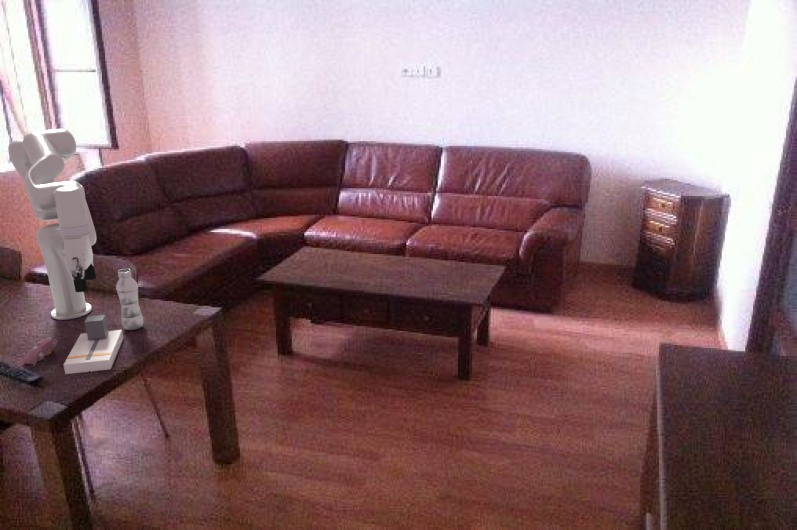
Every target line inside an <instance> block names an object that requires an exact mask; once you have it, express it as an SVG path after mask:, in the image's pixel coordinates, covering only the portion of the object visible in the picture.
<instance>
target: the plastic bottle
mask: <svg viewBox="0 0 797 530" xmlns="http://www.w3.org/2000/svg"><path fill="white" fill-rule="evenodd" d="M117 273H118V275H117V277H118V278H119V279H118V281H117V283H116V285H115V290H116V293H117V295H118V298H119V303H120V307H121V308H120V309H121V324H122V328H124V329H125V330H126V331H135V330H138V329H141V328H142V327H143V324H144V317H143V315H142V311H141V307H140V304H139V285H138V282H137V281H136V280H135V279H134V278H133V277H132V271H131V269H130V268H122V269H119V270H118V271H117Z"/></svg>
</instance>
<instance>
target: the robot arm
mask: <svg viewBox="0 0 797 530" xmlns="http://www.w3.org/2000/svg"><path fill="white" fill-rule="evenodd" d="M7 151H8V155H9V159H10V161H11V163H12V165H13V167H14V169H15V171H17V173H18V174H19V176H20V177H21V178H22V179H21V180H23V182H24V184H23V185H24V190H25V193H26V195H27V197H28V200H29V201H30V204H31V206H32V210H33V213H34V215H35V217H36V218H37V219H38V220H39V221H41V222H52V221H58V223H51V224H47V225H44V226H42V227H40V228H39V229H38V230H37V232H36V235H35V236H36V241H37V245H38V247H39V249H40V252H41V254H42V257H43V261H44V263H45V264H44V265H45V268H46V273H47V276H48V282H49V287H50V291H51V296H52V299H53V300H52V301H53V304H54V309H52V310H51V312H50V316H51V317H52V319H55V320H60V321H61V320H62V321H64V320H66V321H67V320H73V319H77V318H81V317H83V316H86V315H88V314H89V313H90V312H91V311H92V310H93V308H92V305H91V304H90V303H88V302H86V298H85V292H88V290H89V288H88V283H87V281H90V280H92V281H93V280H97V274H96V269H95V266H94V265H95V263H94V253H93V249H92V246H94V245H95V244H96V242H97V232H96V228H95V226H94V221H93V219H92V215H91V212H90V209H89V206H88V203H87V200H86V193H85V192H86V191H85V188H84V186H83V185H82V184H81V183H80V182H78V181H76V180H66V181H58V182H56V181H55V179H56V178H57V177H59V176H61V174H62V173H64V171H65V162H64V161H68V160H69V159H71V158H72V157H74V156H75V154H76V152H77V143H76V140H75V137H74V136H73V134H72V133H71V132H70V131H69V130H67V129H65V128H57V129H47V130H45V129H44V130H36V131H31V132H29V133H27V134H26V135H25V136H24V137H23V138H20V139H16V140H13V141H11V142H10V143H9V144H8V148H7Z"/></svg>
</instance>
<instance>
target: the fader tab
mask: <svg viewBox="0 0 797 530" xmlns="http://www.w3.org/2000/svg"><path fill="white" fill-rule="evenodd" d="M84 326H85V327H84V328H85V331H86V332H85V333H87V337H88V340H93V339H103V338H106V337H107V335H108V331H109V329H108V323H107V318H106V314H101V315H89V316H87V317H86V318H85V321H84Z"/></svg>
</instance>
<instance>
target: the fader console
mask: <svg viewBox="0 0 797 530" xmlns="http://www.w3.org/2000/svg"><path fill="white" fill-rule="evenodd" d="M123 340H124V335H123V329H114V330H108V335H107V337H106V338H103V339H93V340H88V337H87V332H84V333H80V335H79V336H78V338H77V340H76V342H74V345H73V347H72V348H71V350H70V352H69V354H68V356H67V357H66V359H65V362H63V368H64V369H63V370H64V373H65V375H68V374H69V375H71V374H78V373H80V374H81V373H88V372H89V371H90V372H97V371H107V370H111V369H112V367H113V364H114V362H115V360H116V357H117V355H118V352H119V350H120V348H121V346H122V342H123Z"/></svg>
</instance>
